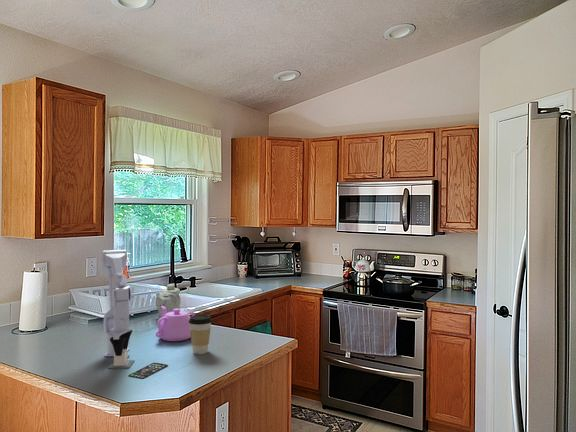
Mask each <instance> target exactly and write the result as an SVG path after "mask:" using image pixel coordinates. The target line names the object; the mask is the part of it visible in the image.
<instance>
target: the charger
mask: <svg viewBox="0 0 576 432" xmlns="http://www.w3.org/2000/svg"><path fill="white" fill-rule="evenodd" d="M127 355H128V351H127V349H123V351H122V355H121V356H116V355H115V352H114V356H113V361H114V366H123V365H125V364H126V363H127V360H128V358H127Z"/></svg>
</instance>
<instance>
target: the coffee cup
mask: <svg viewBox="0 0 576 432" xmlns="http://www.w3.org/2000/svg"><path fill="white" fill-rule="evenodd" d="M212 322H213V319H212V317H211V316H210V315H209V314H195V315H194V316H192V315H191V316H190V320H189V323H190V334H191V338H190V341H191V346H192V347H191V348H192V354H194V355H206V354H207V353H208V352H209V344H210V336H211V329H212V327H211V325H212Z"/></svg>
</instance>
